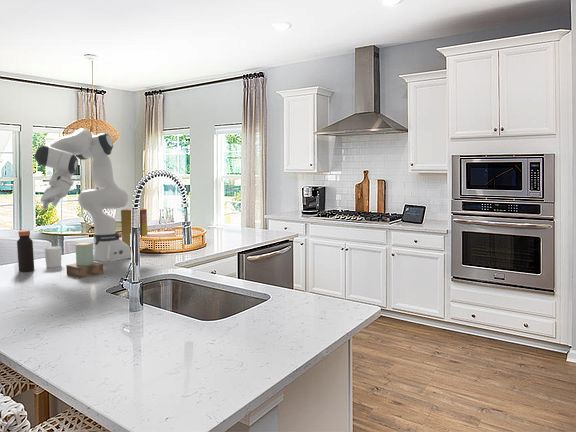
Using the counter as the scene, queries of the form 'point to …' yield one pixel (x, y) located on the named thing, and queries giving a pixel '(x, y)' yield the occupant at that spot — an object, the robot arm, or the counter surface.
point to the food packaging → (127, 224)
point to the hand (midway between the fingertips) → (49, 207)
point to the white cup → (53, 256)
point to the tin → (84, 254)
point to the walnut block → (84, 270)
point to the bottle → (25, 252)
